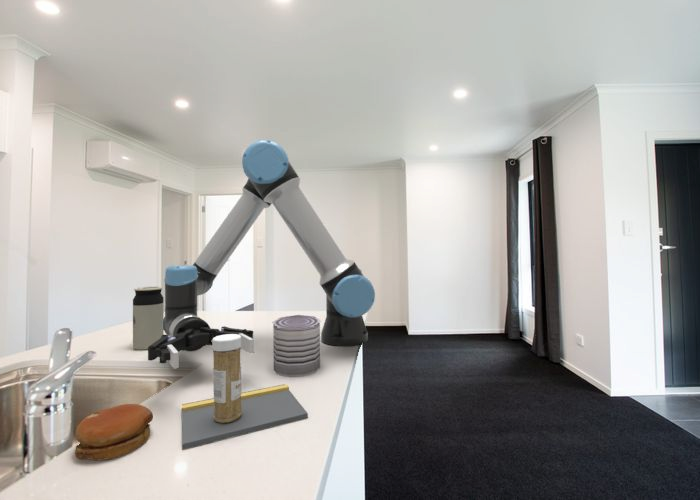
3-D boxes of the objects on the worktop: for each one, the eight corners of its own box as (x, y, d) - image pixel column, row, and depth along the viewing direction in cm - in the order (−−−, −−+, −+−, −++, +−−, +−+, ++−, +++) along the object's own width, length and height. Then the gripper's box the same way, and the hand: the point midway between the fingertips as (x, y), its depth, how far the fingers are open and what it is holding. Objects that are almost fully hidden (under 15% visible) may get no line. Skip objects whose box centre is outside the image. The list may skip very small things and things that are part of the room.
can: (325, 362, 84) (325, 315, 84) (311, 379, 73) (311, 325, 73) (284, 359, 86) (284, 314, 86) (264, 375, 75) (264, 323, 75)
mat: (284, 388, 68) (284, 381, 68) (307, 417, 55) (307, 409, 55) (182, 408, 59) (182, 400, 59) (182, 449, 47) (182, 439, 47)
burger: (141, 456, 45) (141, 422, 45) (59, 471, 42) (59, 435, 42) (158, 422, 55) (158, 394, 55) (92, 432, 52) (92, 402, 52)
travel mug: (165, 342, 104) (165, 286, 105) (160, 348, 97) (160, 288, 97) (136, 344, 101) (136, 287, 102) (129, 351, 94) (129, 289, 94)
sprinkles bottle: (245, 418, 54) (244, 336, 54) (216, 427, 51) (215, 341, 51) (237, 408, 57) (237, 331, 58) (210, 415, 55) (209, 335, 55)
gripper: (241, 339, 85) (278, 359, 69) (126, 358, 70) (137, 390, 53) (241, 310, 85) (277, 323, 69) (126, 323, 70) (137, 344, 53)
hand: (216, 353), depth 61 cm, fingers open, 13 cm apart
